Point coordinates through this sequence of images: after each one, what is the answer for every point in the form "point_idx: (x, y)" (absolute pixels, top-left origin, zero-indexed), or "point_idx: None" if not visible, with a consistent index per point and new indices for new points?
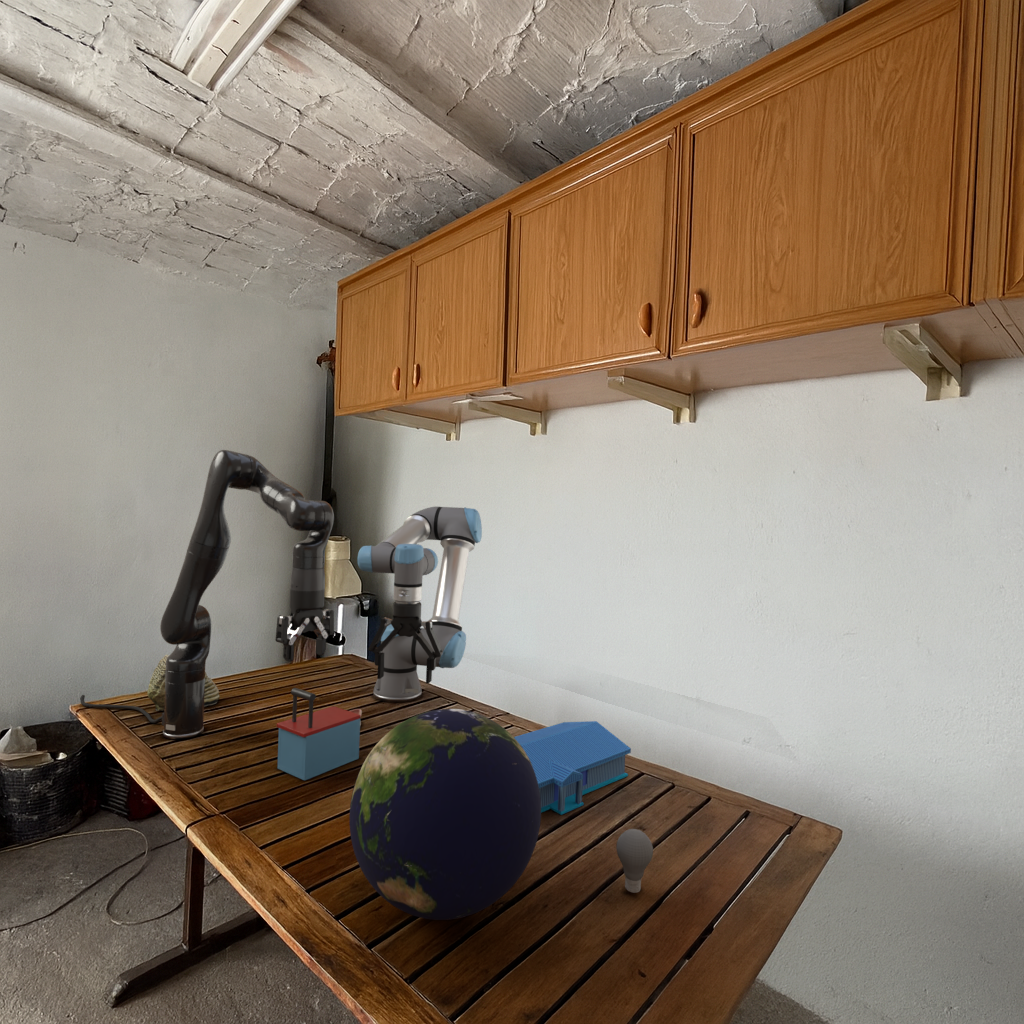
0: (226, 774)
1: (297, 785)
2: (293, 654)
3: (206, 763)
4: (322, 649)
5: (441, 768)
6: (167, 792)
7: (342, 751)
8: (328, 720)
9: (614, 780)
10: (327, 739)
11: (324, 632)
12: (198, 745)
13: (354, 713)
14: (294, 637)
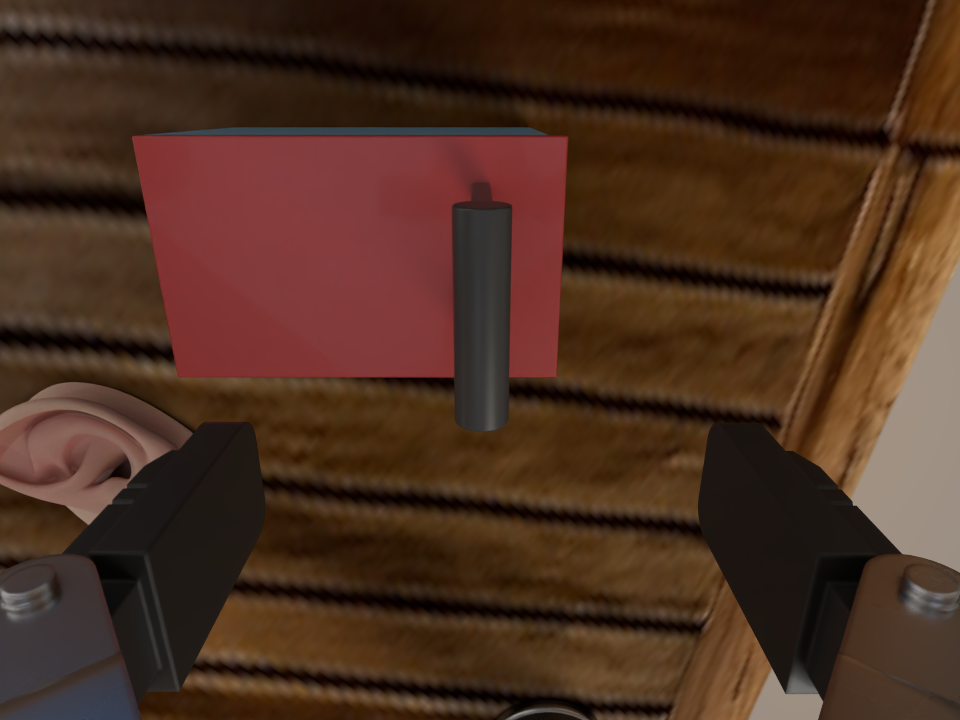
0: (666, 396)
1: (574, 114)
2: (750, 460)
3: (647, 513)
4: (213, 452)
5: None
6: (860, 414)
7: (316, 129)
8: (337, 206)
9: None
10: (402, 132)
11: (11, 659)
12: (572, 641)
13: (148, 185)
14: (917, 669)
